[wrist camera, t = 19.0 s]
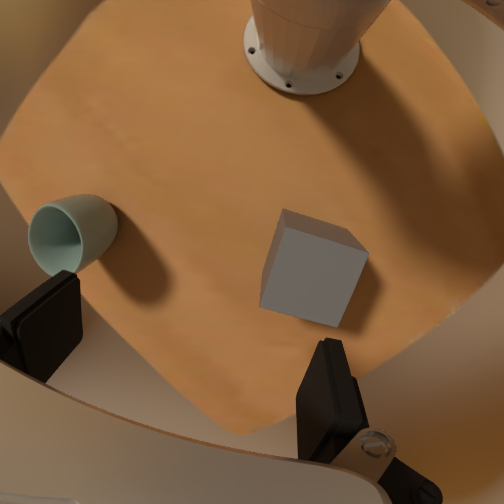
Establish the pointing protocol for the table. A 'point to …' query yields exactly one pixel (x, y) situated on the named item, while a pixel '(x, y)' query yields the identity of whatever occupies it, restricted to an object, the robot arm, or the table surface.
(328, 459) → the robot arm
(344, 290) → the matte gray cube
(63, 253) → the cup
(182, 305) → the table surface
